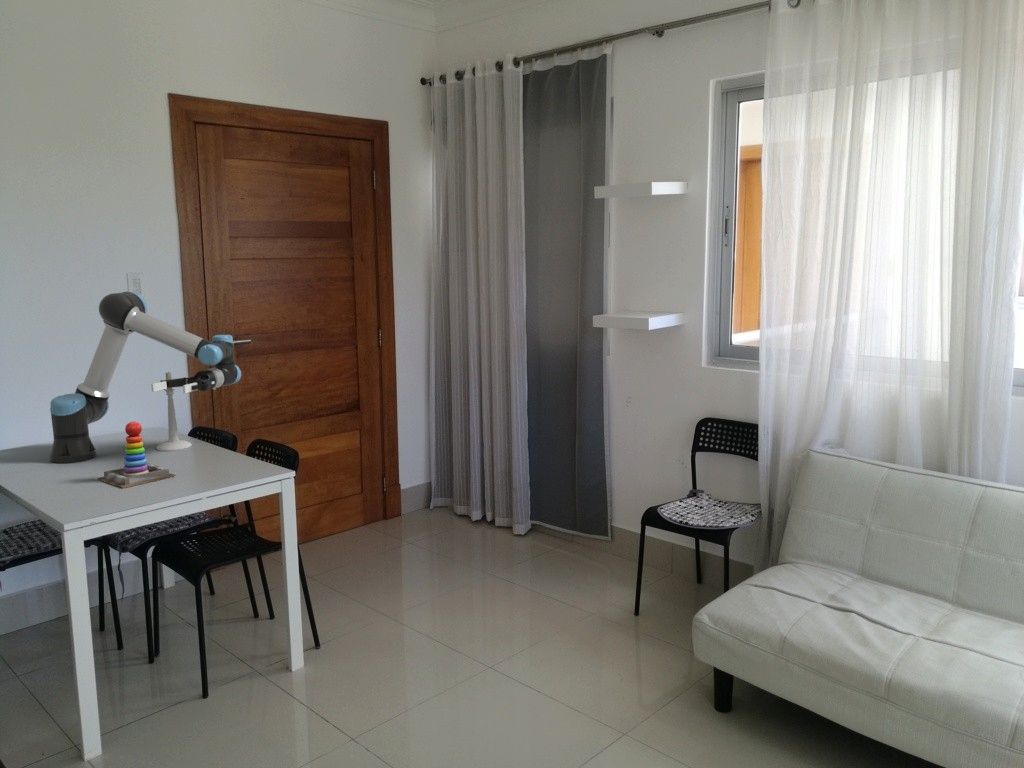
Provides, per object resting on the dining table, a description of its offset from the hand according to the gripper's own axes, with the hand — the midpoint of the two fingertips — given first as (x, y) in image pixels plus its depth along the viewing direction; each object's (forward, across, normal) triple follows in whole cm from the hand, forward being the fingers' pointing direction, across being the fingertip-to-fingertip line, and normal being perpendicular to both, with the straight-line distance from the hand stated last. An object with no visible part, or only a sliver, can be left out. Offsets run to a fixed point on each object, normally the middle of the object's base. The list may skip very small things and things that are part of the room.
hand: (168, 388), depth 292 cm
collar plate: (+17, +1, -28) cm, 33 cm away
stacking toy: (+17, +1, -28) cm, 32 cm away
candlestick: (-24, +21, -28) cm, 43 cm away
